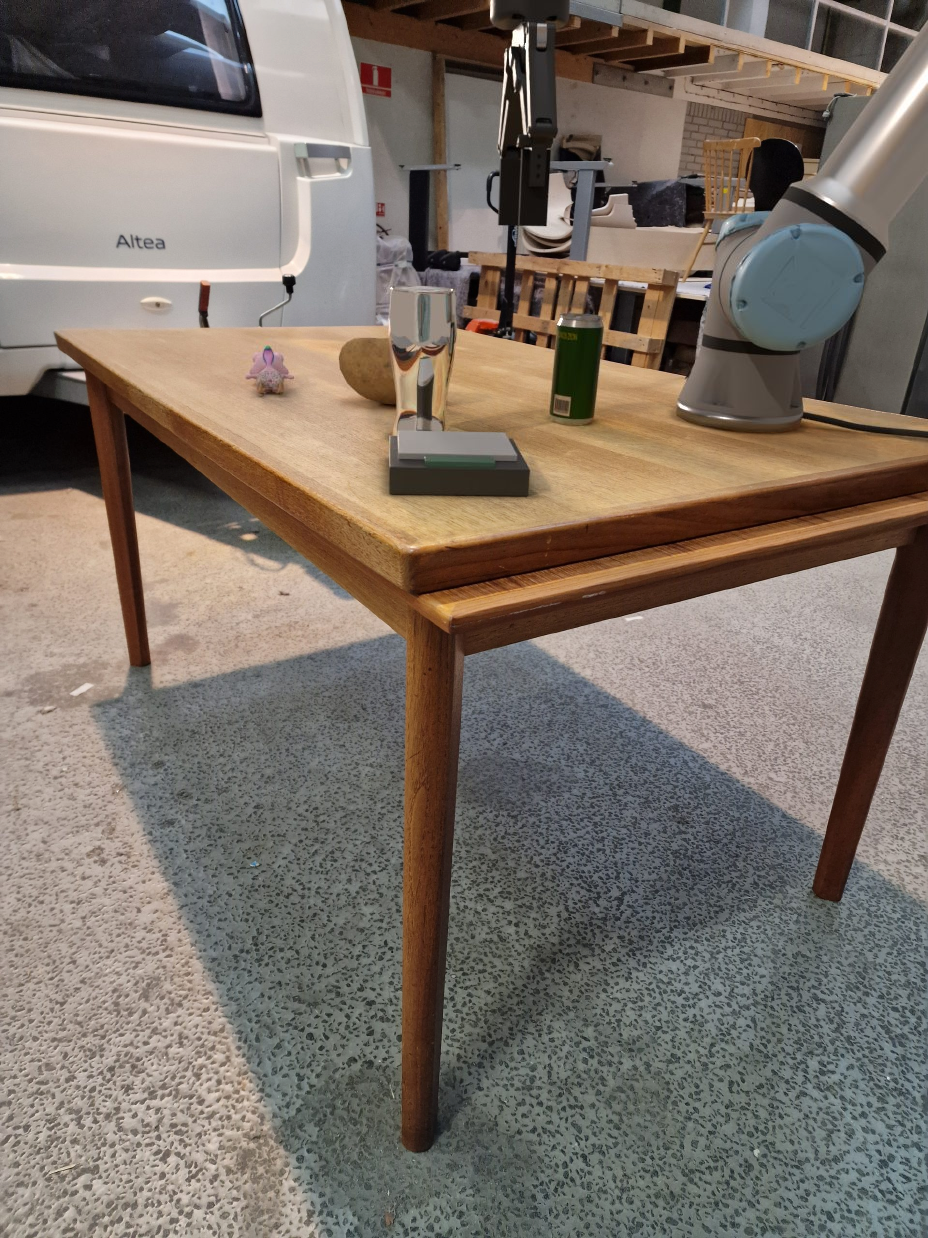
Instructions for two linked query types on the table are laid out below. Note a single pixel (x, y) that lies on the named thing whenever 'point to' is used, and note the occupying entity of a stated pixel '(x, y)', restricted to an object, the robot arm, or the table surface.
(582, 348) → the beer can
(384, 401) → the potato
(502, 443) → the scale
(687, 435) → the table surface
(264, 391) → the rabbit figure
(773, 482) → the table surface
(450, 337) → the beer glass
